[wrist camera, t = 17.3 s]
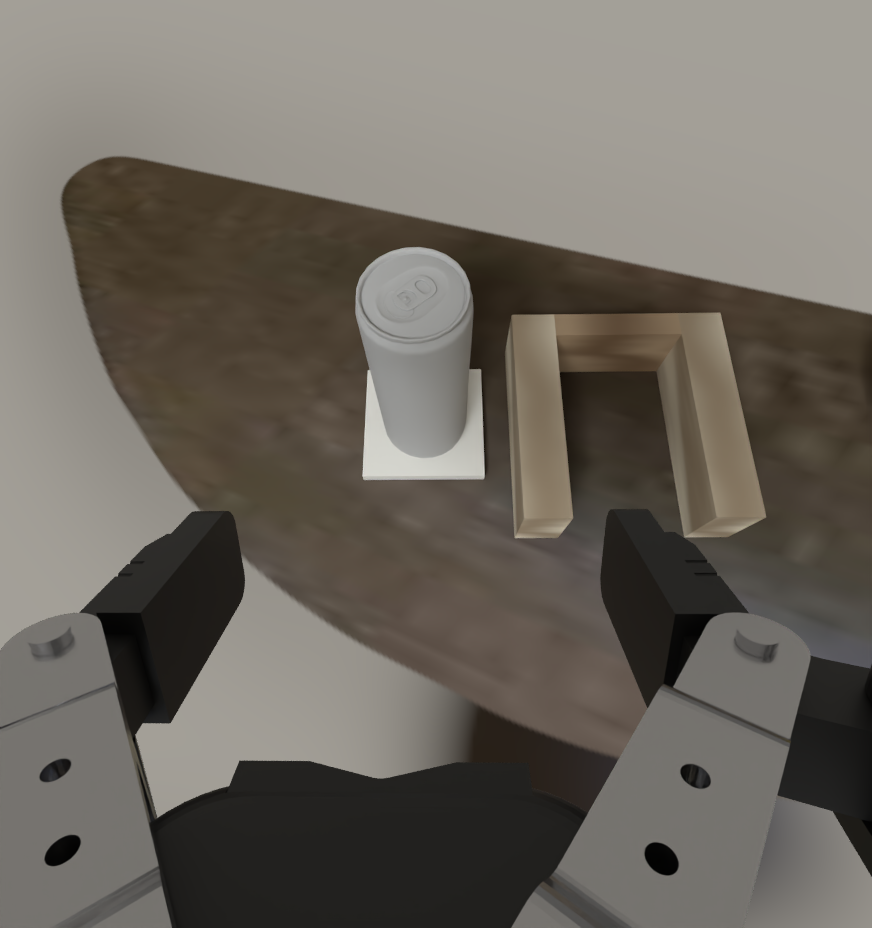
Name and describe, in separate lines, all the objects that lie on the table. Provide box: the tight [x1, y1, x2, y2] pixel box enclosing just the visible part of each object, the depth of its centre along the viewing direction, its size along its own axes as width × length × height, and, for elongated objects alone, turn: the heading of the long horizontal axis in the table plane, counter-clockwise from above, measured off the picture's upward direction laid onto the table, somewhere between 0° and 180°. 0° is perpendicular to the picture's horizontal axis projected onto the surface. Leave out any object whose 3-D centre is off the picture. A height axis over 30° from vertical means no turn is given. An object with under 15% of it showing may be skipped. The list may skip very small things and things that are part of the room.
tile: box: [363, 369, 485, 480], centre depth 33 cm, size 7×7×1 cm
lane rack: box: [505, 313, 766, 538], centre depth 31 cm, size 12×12×4 cm
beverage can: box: [356, 247, 473, 458], centre depth 27 cm, size 5×5×12 cm
